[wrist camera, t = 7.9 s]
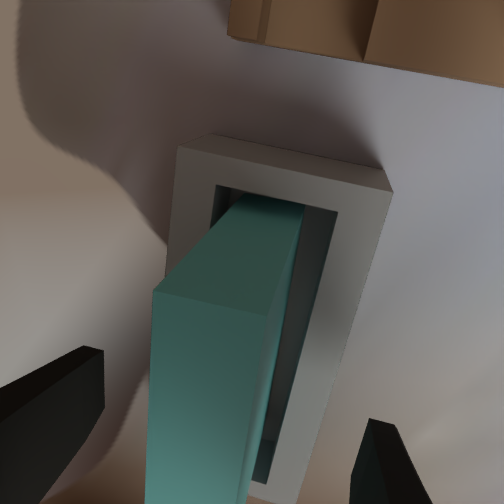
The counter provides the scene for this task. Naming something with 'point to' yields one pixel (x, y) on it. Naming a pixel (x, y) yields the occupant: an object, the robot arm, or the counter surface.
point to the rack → (384, 33)
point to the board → (218, 353)
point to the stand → (303, 280)
